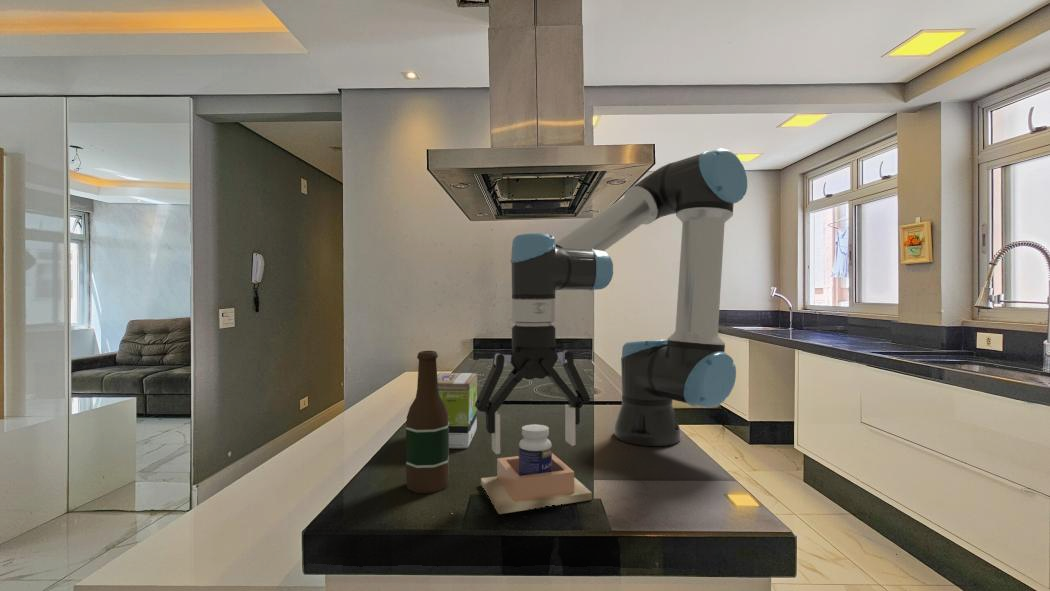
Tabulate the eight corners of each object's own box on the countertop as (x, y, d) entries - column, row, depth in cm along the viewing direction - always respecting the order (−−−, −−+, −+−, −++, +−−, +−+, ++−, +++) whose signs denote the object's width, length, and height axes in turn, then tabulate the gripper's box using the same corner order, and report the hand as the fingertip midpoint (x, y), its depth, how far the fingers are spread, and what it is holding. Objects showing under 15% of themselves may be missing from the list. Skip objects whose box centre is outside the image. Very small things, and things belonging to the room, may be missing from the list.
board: (563, 473, 90) (563, 467, 90) (591, 499, 79) (591, 492, 79) (481, 484, 85) (481, 478, 85) (498, 514, 74) (498, 506, 74)
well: (551, 470, 89) (551, 452, 89) (574, 492, 79) (574, 471, 79) (497, 477, 85) (497, 458, 85) (514, 501, 76) (514, 479, 76)
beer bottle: (411, 497, 80) (411, 355, 80) (401, 481, 87) (400, 350, 87) (456, 489, 84) (455, 352, 84) (442, 474, 91) (441, 348, 90)
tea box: (470, 449, 105) (469, 382, 105) (424, 449, 105) (424, 382, 105) (477, 429, 120) (477, 371, 120) (438, 429, 120) (437, 371, 120)
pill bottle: (549, 493, 79) (548, 433, 79) (515, 490, 80) (515, 431, 80) (554, 479, 84) (553, 423, 84) (522, 477, 86) (522, 422, 86)
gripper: (466, 327, 75) (467, 462, 75) (608, 323, 82) (609, 446, 83) (457, 324, 82) (458, 448, 82) (589, 321, 90) (589, 434, 90)
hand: (534, 447), depth 82 cm, fingers open, 13 cm apart
